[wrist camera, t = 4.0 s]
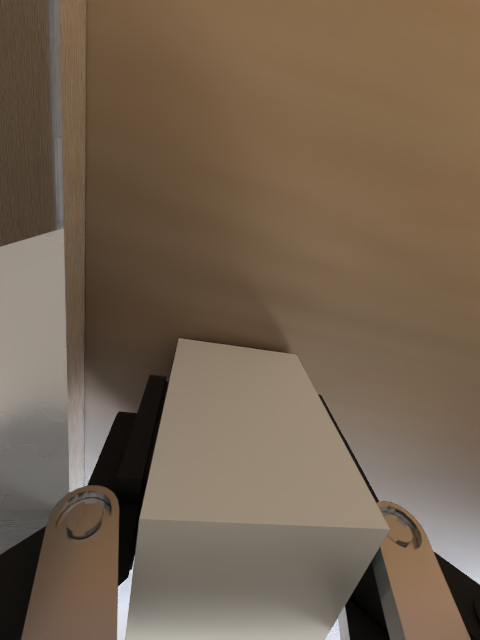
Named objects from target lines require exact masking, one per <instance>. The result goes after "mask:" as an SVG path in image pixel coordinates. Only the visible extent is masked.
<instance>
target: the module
mask: <svg viewBox="0 0 480 640" xmlns="http://www.w3.org/2000/svg"><path fill="white" fill-rule="evenodd" d="M389 531H390V528H389V526H388V524H387V522H386V520H385V518H384V517H383V515H382V513H381V511H380V509H379V507H378V505H377V504H376V502H375V500H374V498H373V496H372V494H371V492H370V491H369V489H368V487H367V485H366V483H365V481H364V479H363V477H362V476H361V474H360V472H359V470H358V468H357V466H356V464H355V463H354V461H353V459H352V457H351V455H350V453H349V451H348V450H347V448H346V446H345V444H344V442H343V440H342V438H341V437H340V435H339V433H338V431H337V429H336V427H335V425H334V424H333V422H332V420H331V418H330V416H329V414H328V412H327V410H326V409H325V407H324V405H323V403H322V401H321V399H320V397H319V396H318V394H317V392H316V390H315V388H314V386H313V384H312V383H311V381H310V379H309V377H308V375H307V373H306V371H305V370H304V368H303V366H302V364H301V362H300V360H299V358H298V357H297V355H296V354H288V353H281V352H274V351H267V350H260V349H253V348H246V347H238V346H231V345H224V344H217V343H210V342H203V341H196V340H188V339H181V338H179V339H178V344H177V348H176V353H175V358H174V362H173V367H172V371H171V376H170V381H169V385H168V390H167V394H166V399H165V404H164V408H163V413H162V417H161V422H160V426H159V431H158V436H157V440H156V445H155V449H154V454H153V459H152V463H151V468H150V472H149V477H148V482H147V486H146V491H145V495H144V500H143V505H142V509H141V514H140V518H139V526H138V535H137V543H136V552H135V560H134V569H133V578H132V586H131V595H130V603H129V612H128V620H127V629H126V637H125V640H325V638H326V637H327V635H328V633H329V631H330V630H331V628H332V626H333V625H334V623H335V621H336V620H337V618H338V616H339V615H340V613H341V611H342V610H343V608H344V606H345V605H346V603H347V601H348V599H349V598H350V596H351V594H352V593H353V591H354V589H355V588H356V586H357V584H358V583H359V581H360V579H361V578H362V576H363V574H364V573H365V571H366V569H367V568H368V566H369V564H370V562H371V561H372V559H373V557H374V556H375V554H376V552H377V551H378V549H379V547H380V546H381V544H382V542H383V541H384V539H385V537H386V536H387V534H388V532H389Z"/></svg>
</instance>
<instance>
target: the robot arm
mask: <svg viewBox="0 0 480 640" xmlns="http://www.w3.org/2000/svg"><path fill="white" fill-rule="evenodd" d="M168 385H169V381H166V377H164V376H155V375H150V376H149V379H148V382H147V385H146V389H145V392H144V395H143V398H142V401H141V404H140V407H139V410H138V413H128V412H118V413H117V415H116V418H115V420H114V422H113V425H112V427H111V430H110V432H109V435H108V437H107V439H106V442H105V444H104V447H103V449H102V451H101V454H100V456H99V459H98V461H97V464H96V466H95V468H94V471H93V473H92V476H91V478H90V480H89V483H88V485H87V486H84V487H81V488H77V489H75V490H74V491H72V492H70V493H68V494H67V495H65V496H64V497H63V498H62V499H61V500H59V501H58V502H57V504H56V505H55V506H54V508H53V509H52V510H51V513H50V515H49V518H48V521H47V525H46V526H45V527H43V528H42V529H40V530H38V531H37V532H35V533H34V534H32V535H30V536H29V537H27V538H26V539H24V540H22V541H21V542H19V543H18V544H16V545H15V546H13V547H11V548H10V549H8V550H7V551H5V552H3V553H2V554H0V640H117V603H118V586H119V585H120V584H121V583H122V582H123V581H125V580H126V579H127V578H128V575H129V570H132V565H133V561H134V556H135V552H136V543H137V535H138V526H139V518H140V514H141V509H142V505H143V500H144V495H145V491H146V486H147V482H148V477H149V472H150V468H151V463H152V459H153V454H154V449H155V445H156V440H157V436H158V431H159V426H160V422H161V417H162V413H163V408H164V404H165V399H166V394H167V390H168ZM318 396H319V397H320V399H321V401H322V403H323V405H324V407H325V409H326V410H327V412H328V414H329V416H330V418H331V420H332V422H333V424H334V425H335V427H336V429H337V431H338V433H339V435H340V437H341V438H342V440H343V442H344V444H345V446H346V448H347V450H348V451H349V453H350V455H351V457H352V459H353V461H354V463H355V464H356V466H357V468H358V470H359V472H360V474H361V476H362V477H363V479H364V481H365V483H366V485H367V487H368V489H369V491H370V492H371V494H372V496H373V498H374V500H375V502H376V504H377V505H378V507H379V509H380V511H381V513H382V515H383V517H384V518H385V520H386V522H387V524H388V526H389V528H390V531H389V532H388V534H387V536H386V537H385V539H384V541H383V542H382V544H381V546H380V547H379V549H378V551H377V552H376V554H375V556H374V557H373V559H372V561H371V562H370V564H369V566H368V568H367V569H366V571H365V573H364V574H363V576H362V578H361V579H360V581H359V583H358V584H357V586H356V588H355V589H354V591H353V593H352V594H351V596H350V598H349V599H348V601H347V603H346V605H345V606H344V608H343V610H342V611H341V613H340V615H339V616H338V621H339V629H340V637H341V640H480V585H479V584H478V583H476V582H475V581H474V580H472V579H471V578H469V577H468V576H467V575H465V574H464V573H463V572H461V571H460V570H458V569H457V568H456V567H454V566H453V565H452V564H450V563H449V562H447V561H446V560H445V559H443V558H442V557H441V556H439V555H438V554H436V553H435V552H434V551H433V550H432V547H431V545H430V543H429V540H428V538H427V535H426V533H425V532H424V530H423V528H422V526H421V525H420V524H419V522H418V521H417V520H416V519H415V517H413V516H412V515H411V514H410V513H409V512H408V511H407V510H405V509H404V508H402V507H400V506H399V505H397V504H394V503H392V502H387V501H381V502H379V500H378V499H377V497H376V495H375V493H374V491H373V489H372V487H371V486H370V484H369V482H368V480H367V478H366V476H365V475H364V473H363V471H362V469H361V467H360V465H359V464H358V462H357V460H356V458H355V456H354V454H353V452H352V451H351V449H350V447H349V445H348V443H347V441H346V440H345V438H344V436H343V435H342V433H341V431H340V429H339V428H338V426H337V424H336V422H335V420H334V418H333V416H332V415H331V413H330V411H329V409H328V407H327V405H326V403H325V402H324V400H323V398H322V396H321V395H319V394H318Z"/></svg>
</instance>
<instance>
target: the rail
mask: <svg viewBox="0 0 480 640" xmlns="http://www.w3.org/2000/svg"><path fill="white" fill-rule="evenodd" d="M85 141H86V0H0V554H2V553H3V552H5V551H7V550H8V549H10V548H11V547H13V546H15V545H16V544H18V543H19V542H21V541H22V540H24V539H26V538H27V537H29V536H30V535H32V534H34V533H35V532H37V531H38V530H40V529H42V528H43V527H45V526H46V525H47V521H48V518H49V515H50V513H51V510H52V509H53V508H54V506H55V505H56V504H57V502H58V501H59V500H61V499H62V498H63V497H64V496H65V495H67V494H68V493H70V492H72V491H74V490H75V489H77V488H81V487H84V331H85Z"/></svg>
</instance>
